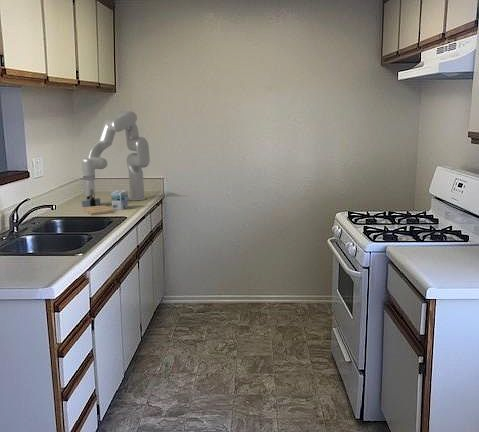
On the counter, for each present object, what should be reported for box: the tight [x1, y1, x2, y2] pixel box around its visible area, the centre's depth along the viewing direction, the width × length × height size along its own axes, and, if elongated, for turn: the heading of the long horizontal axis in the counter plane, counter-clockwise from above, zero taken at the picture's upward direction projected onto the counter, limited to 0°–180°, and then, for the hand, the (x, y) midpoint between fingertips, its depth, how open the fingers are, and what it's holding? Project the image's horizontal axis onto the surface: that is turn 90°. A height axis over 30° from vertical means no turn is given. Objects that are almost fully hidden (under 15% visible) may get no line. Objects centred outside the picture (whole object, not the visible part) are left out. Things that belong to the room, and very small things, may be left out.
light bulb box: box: [110, 189, 129, 211], centre depth 344 cm, size 11×7×11 cm, turn 168°
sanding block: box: [81, 197, 102, 209], centre depth 354 cm, size 6×11×5 cm, turn 109°
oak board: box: [82, 204, 116, 216], centre depth 337 cm, size 22×14×2 cm, turn 27°
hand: (91, 205), depth 354 cm, fingers open, 9 cm apart
